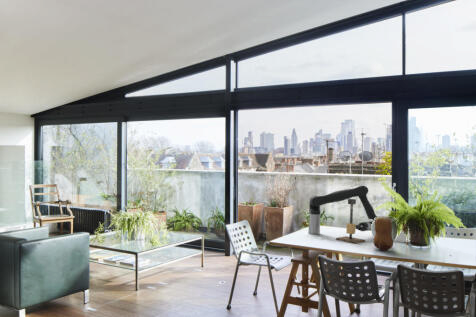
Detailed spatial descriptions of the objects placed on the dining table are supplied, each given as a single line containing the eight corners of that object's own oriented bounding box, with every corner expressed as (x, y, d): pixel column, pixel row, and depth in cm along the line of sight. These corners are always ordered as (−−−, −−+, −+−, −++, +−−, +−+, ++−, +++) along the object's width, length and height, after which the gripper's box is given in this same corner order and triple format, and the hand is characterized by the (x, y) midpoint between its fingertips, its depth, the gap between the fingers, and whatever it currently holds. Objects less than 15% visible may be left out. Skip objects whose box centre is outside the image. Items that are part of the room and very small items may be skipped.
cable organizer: (413, 241, 348) (414, 227, 348) (411, 243, 339) (411, 229, 339) (395, 239, 356) (395, 225, 356) (392, 241, 347) (392, 227, 347)
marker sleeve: (346, 233, 344) (346, 223, 344) (349, 232, 347) (350, 222, 347) (351, 234, 340) (352, 224, 340) (355, 233, 343) (355, 223, 343)
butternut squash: (384, 247, 320) (385, 215, 320) (396, 251, 307) (397, 217, 307) (369, 248, 315) (370, 215, 315) (381, 252, 302) (382, 218, 302)
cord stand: (336, 239, 346) (337, 198, 346) (346, 238, 355) (347, 197, 355) (355, 243, 332) (356, 200, 332) (365, 241, 341) (366, 199, 341)
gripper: (357, 220, 362) (346, 222, 352) (372, 223, 352) (361, 224, 341) (357, 229, 363) (346, 231, 352) (372, 232, 352) (361, 234, 341)
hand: (353, 228), depth 346 cm, fingers open, 8 cm apart
